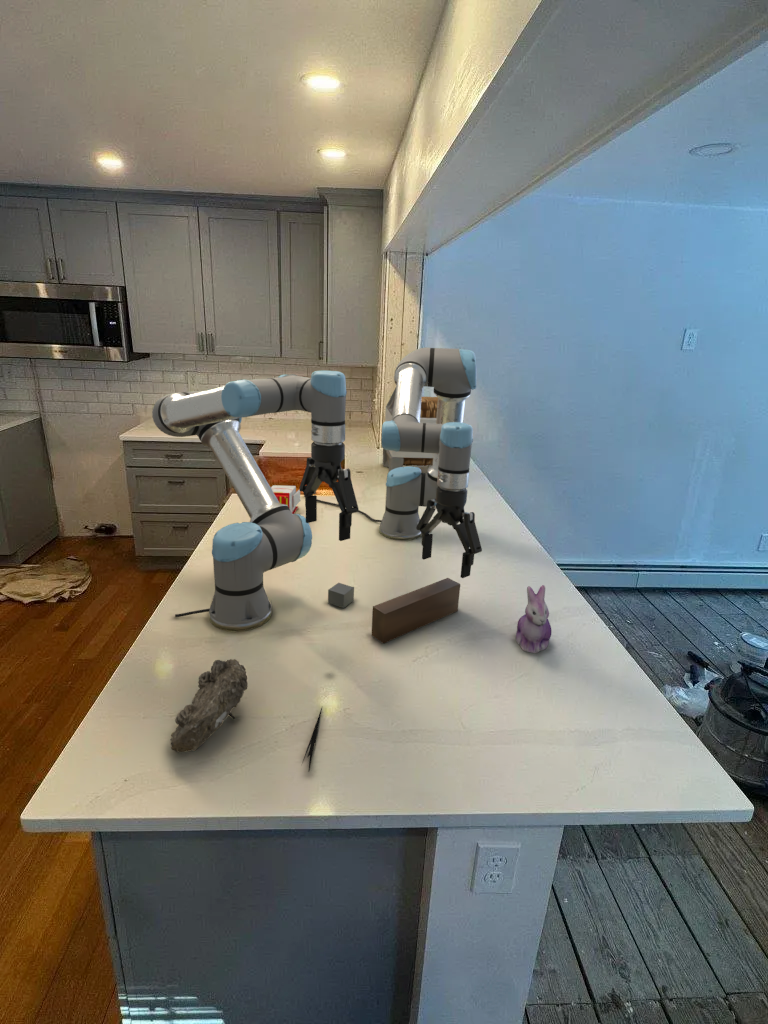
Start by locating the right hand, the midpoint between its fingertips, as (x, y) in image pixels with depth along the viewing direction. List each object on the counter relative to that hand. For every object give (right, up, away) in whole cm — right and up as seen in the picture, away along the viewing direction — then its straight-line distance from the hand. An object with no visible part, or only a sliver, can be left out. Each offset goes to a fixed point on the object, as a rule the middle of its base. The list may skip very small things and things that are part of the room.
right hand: (445, 567), depth 145 cm
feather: (-28, -26, -36) cm, 52 cm away
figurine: (+20, -18, -8) cm, 28 cm away
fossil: (-48, -25, -37) cm, 65 cm away
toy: (-54, +12, +65) cm, 85 cm away
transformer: (+1, +33, +130) cm, 134 cm away
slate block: (-27, -10, +8) cm, 30 cm away
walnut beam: (-7, -14, -1) cm, 16 cm away
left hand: (-29, +10, -11) cm, 32 cm away
